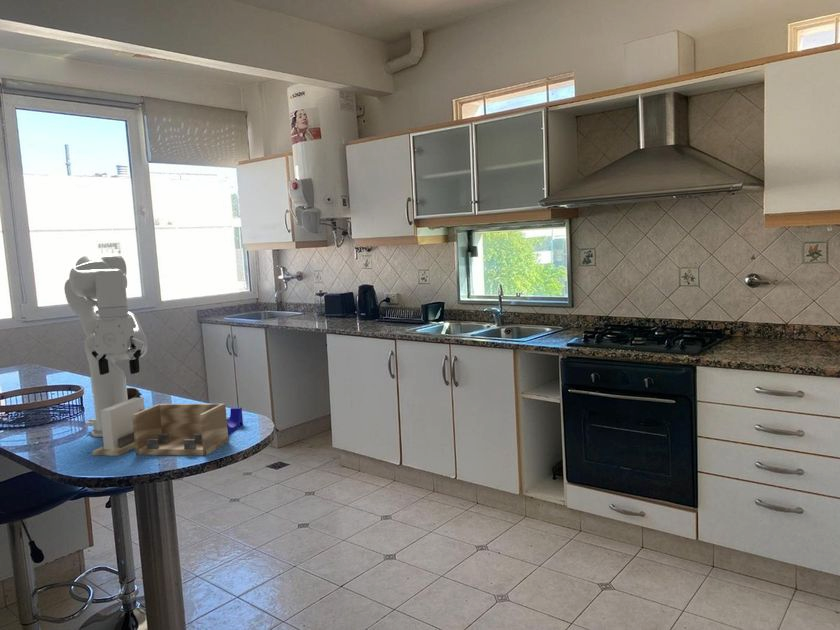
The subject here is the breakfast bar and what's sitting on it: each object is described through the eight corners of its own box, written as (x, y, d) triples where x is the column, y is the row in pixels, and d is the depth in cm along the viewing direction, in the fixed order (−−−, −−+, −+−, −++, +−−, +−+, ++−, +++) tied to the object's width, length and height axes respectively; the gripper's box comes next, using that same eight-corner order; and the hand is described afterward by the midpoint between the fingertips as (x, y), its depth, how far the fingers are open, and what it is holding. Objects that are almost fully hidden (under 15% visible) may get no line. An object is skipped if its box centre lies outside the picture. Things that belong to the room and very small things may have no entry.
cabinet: (136, 454, 172) (132, 414, 171) (161, 441, 184) (158, 404, 183) (206, 455, 168) (203, 414, 167) (228, 441, 180) (225, 403, 179)
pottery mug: (150, 404, 234) (146, 387, 229) (135, 422, 226) (130, 404, 222) (121, 398, 236) (116, 381, 231) (105, 415, 228) (100, 398, 224)
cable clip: (229, 426, 197) (228, 407, 197) (243, 426, 196) (241, 407, 196) (210, 437, 185) (208, 417, 185) (224, 437, 185) (223, 417, 184)
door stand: (92, 455, 174) (91, 442, 173) (134, 436, 191) (132, 424, 191) (118, 455, 172) (117, 442, 172) (158, 436, 190) (156, 424, 189)
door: (116, 449, 174) (112, 410, 173) (104, 449, 174) (100, 410, 173) (149, 433, 188) (145, 397, 187) (138, 433, 189) (134, 397, 188)
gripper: (76, 316, 176) (83, 376, 177) (132, 313, 172) (138, 375, 174) (95, 313, 183) (101, 371, 185) (149, 310, 180) (155, 370, 181)
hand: (119, 373), depth 179 cm, fingers open, 9 cm apart
